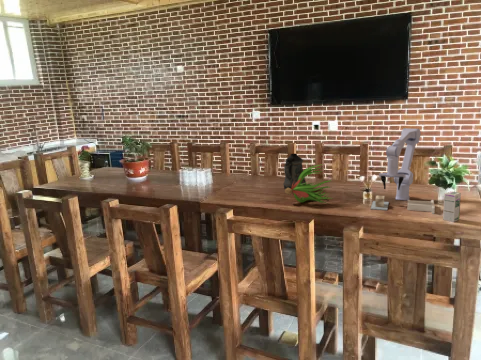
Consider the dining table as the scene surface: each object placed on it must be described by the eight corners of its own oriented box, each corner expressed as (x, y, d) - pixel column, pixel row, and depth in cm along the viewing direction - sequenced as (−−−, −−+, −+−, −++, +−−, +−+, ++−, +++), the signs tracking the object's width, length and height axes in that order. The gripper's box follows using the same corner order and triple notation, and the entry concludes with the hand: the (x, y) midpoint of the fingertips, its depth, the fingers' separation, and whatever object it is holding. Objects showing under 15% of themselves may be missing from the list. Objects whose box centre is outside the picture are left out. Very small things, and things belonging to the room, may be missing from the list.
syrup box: (453, 222, 200) (456, 194, 197) (442, 219, 204) (444, 192, 201) (459, 219, 203) (461, 192, 200) (447, 217, 208) (449, 190, 205)
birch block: (375, 206, 229) (375, 198, 228) (376, 203, 236) (376, 195, 235) (383, 207, 228) (383, 198, 227) (384, 203, 234) (384, 195, 233)
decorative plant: (281, 208, 254) (322, 201, 263) (297, 211, 230) (342, 203, 238) (276, 168, 253) (317, 162, 262) (291, 167, 229) (336, 160, 238)
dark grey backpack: (306, 185, 290) (306, 151, 285) (306, 191, 272) (306, 156, 266) (284, 185, 293) (283, 152, 288) (282, 191, 275) (281, 156, 269)
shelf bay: (407, 204, 233) (407, 198, 233) (433, 205, 228) (433, 200, 227) (407, 211, 219) (407, 205, 218) (434, 213, 214) (434, 207, 213)
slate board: (373, 201, 241) (373, 200, 241) (388, 202, 238) (388, 201, 237) (370, 209, 227) (370, 208, 227) (387, 210, 223) (387, 209, 223)
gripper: (379, 167, 228) (378, 190, 231) (406, 168, 223) (404, 191, 226) (379, 165, 235) (379, 187, 238) (406, 166, 229) (405, 188, 232)
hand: (391, 189), depth 232 cm, fingers open, 7 cm apart
